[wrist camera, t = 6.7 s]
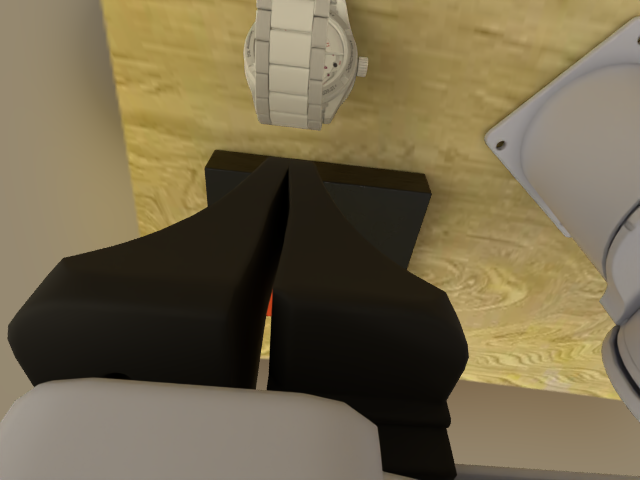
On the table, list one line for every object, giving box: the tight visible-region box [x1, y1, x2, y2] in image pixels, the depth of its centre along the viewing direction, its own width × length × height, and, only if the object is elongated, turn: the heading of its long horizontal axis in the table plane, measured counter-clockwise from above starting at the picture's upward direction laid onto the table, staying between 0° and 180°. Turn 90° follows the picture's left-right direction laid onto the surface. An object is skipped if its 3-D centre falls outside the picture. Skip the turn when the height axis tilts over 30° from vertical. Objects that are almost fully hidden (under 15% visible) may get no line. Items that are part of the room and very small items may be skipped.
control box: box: [205, 150, 432, 270], centre depth 24 cm, size 12×10×4 cm
